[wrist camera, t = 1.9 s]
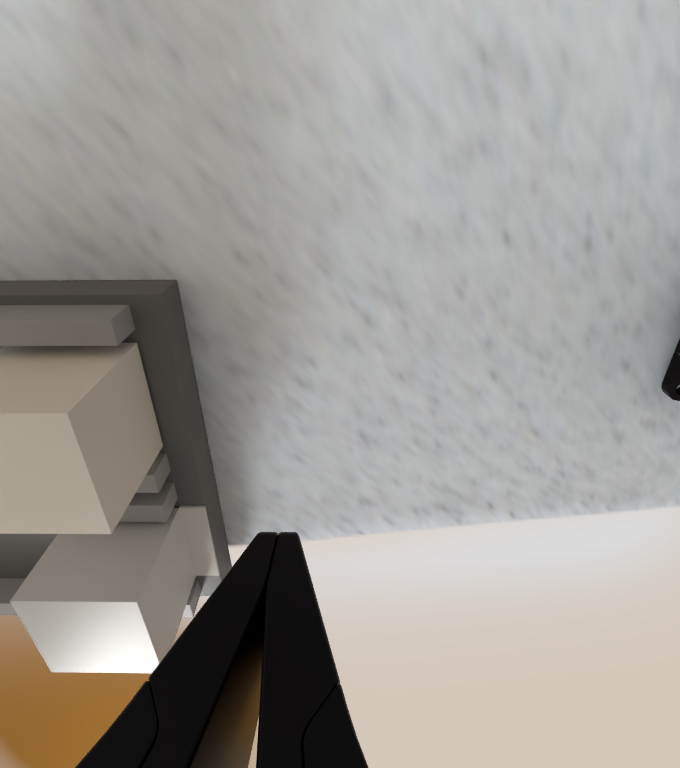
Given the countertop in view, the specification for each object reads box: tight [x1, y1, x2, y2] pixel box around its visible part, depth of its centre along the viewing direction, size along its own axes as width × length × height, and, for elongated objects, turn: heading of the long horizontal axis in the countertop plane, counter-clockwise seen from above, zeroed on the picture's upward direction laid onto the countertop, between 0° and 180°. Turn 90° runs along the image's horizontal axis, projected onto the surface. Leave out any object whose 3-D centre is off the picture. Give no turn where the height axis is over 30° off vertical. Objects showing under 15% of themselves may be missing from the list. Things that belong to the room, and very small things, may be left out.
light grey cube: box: [10, 508, 196, 673], centre depth 17 cm, size 4×4×4 cm
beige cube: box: [0, 343, 163, 534], centre depth 13 cm, size 4×4×4 cm
